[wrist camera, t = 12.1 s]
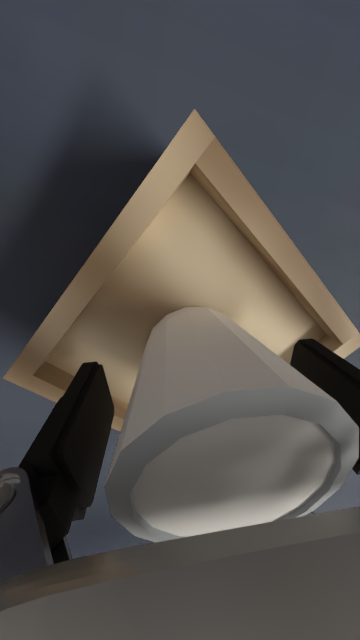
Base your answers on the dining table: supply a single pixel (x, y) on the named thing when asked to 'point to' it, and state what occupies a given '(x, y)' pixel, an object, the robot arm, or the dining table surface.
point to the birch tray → (182, 276)
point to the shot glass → (223, 434)
